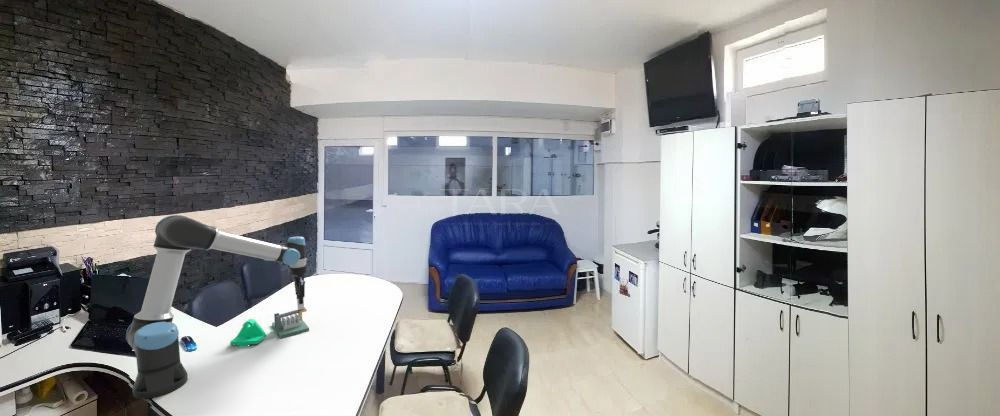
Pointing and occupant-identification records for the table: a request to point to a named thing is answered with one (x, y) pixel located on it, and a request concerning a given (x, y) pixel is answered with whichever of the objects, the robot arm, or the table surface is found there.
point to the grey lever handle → (292, 312)
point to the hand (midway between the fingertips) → (300, 309)
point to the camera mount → (249, 334)
